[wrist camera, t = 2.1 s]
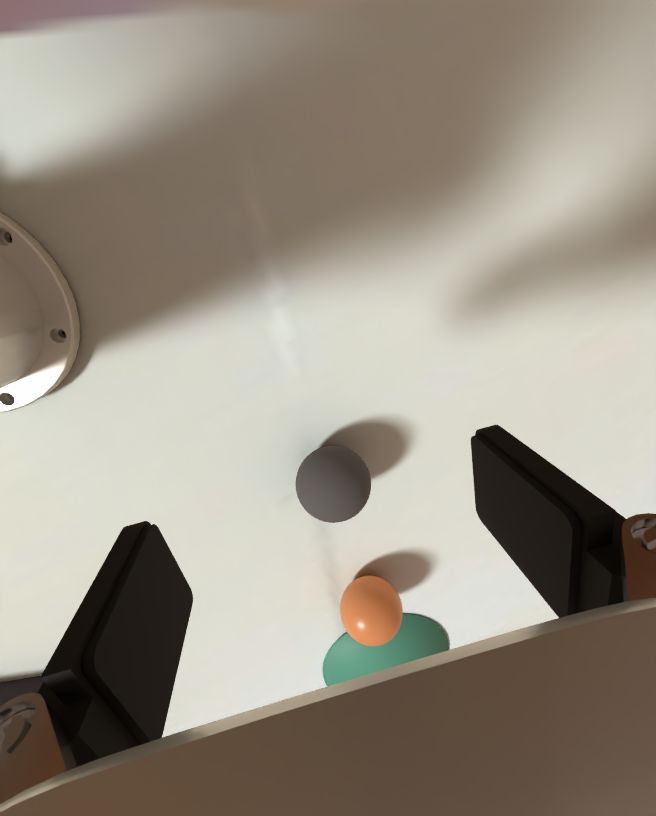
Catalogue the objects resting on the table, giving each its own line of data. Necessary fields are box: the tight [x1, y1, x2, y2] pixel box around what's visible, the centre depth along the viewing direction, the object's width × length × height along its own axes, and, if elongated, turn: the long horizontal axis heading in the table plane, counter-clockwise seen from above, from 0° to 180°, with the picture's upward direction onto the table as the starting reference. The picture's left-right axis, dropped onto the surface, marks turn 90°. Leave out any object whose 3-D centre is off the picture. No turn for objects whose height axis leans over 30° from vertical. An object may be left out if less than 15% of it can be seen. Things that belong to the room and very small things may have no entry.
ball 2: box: [340, 575, 403, 647], centre depth 32 cm, size 6×6×6 cm
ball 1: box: [296, 446, 371, 523], centre depth 27 cm, size 6×6×6 cm
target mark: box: [323, 614, 449, 686], centre depth 39 cm, size 14×14×1 cm
